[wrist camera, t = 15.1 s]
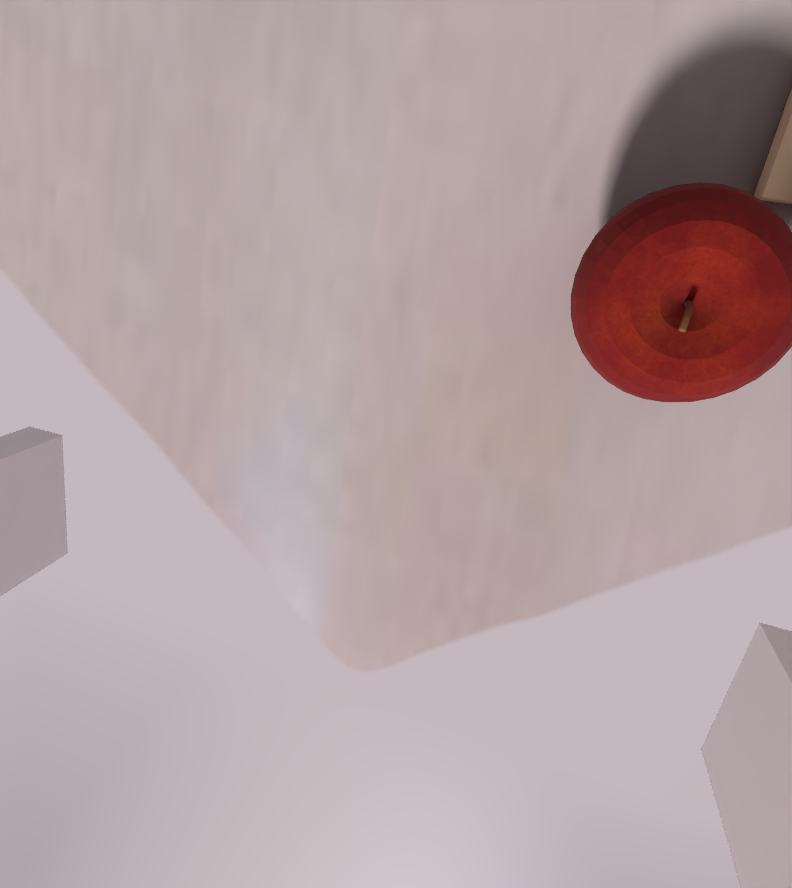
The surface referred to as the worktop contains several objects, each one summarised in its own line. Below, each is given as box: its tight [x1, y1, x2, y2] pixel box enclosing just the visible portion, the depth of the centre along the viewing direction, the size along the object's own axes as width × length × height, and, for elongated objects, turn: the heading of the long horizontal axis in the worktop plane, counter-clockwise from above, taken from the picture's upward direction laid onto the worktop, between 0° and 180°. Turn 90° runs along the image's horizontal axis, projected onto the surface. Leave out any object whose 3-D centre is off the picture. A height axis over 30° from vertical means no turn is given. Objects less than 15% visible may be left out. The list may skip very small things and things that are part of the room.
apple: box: [571, 183, 792, 402], centre depth 28 cm, size 10×10×10 cm
